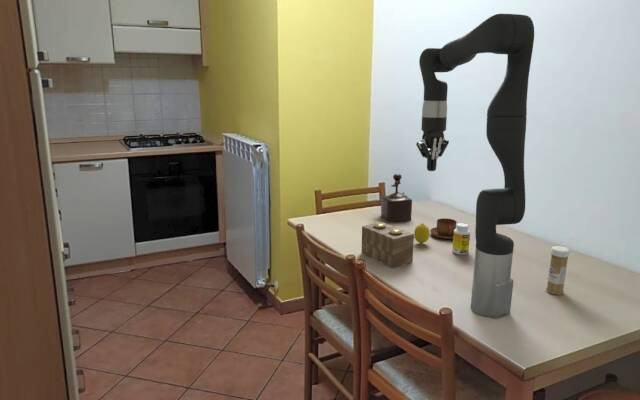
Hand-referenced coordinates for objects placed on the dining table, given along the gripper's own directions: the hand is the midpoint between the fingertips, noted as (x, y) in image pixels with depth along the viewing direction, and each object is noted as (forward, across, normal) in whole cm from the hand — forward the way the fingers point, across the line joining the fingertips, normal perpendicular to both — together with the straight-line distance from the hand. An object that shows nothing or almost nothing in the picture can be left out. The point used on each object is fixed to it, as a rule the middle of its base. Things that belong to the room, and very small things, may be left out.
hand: (431, 170), depth 156 cm
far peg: (+30, -7, +16) cm, 35 cm away
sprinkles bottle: (+32, +14, -37) cm, 51 cm away
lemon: (+31, +13, +14) cm, 37 cm away
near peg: (+30, -7, +8) cm, 32 cm away
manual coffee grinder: (+31, +30, +46) cm, 63 cm away
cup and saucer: (+31, +28, +15) cm, 45 cm away
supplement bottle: (+32, +18, 0) cm, 36 cm away
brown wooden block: (+31, -7, +12) cm, 34 cm away
